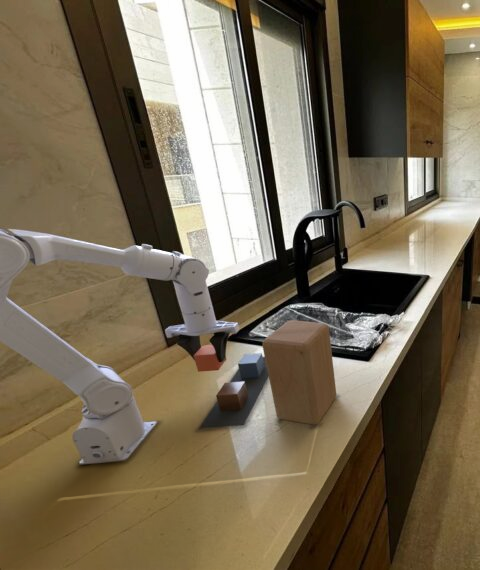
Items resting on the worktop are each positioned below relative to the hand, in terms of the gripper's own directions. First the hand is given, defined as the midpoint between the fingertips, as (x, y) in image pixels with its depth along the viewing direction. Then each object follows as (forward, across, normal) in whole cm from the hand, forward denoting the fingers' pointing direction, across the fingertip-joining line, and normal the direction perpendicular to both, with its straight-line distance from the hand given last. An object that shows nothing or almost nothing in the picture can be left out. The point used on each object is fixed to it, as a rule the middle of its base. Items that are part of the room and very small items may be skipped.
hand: (211, 360), depth 77 cm
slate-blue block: (+8, -6, -6) cm, 12 cm away
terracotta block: (+1, 0, 0) cm, 1 cm away
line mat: (+8, -6, 0) cm, 10 cm away
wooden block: (+9, -23, +9) cm, 26 cm away
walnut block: (+8, -6, +6) cm, 12 cm away
